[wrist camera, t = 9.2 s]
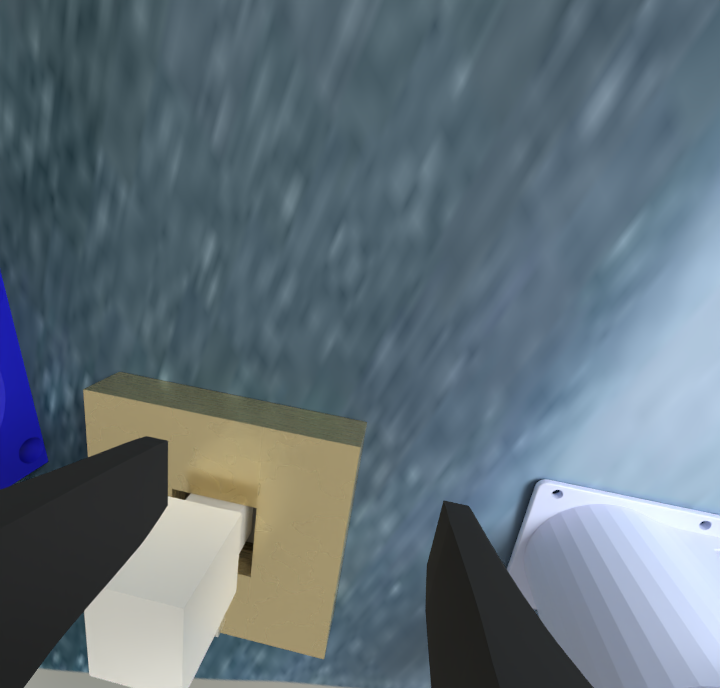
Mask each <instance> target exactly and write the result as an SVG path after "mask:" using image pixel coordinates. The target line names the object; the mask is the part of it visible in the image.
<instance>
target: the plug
mask: <svg viewBox="0 0 720 688" xmlns="http://www.w3.org/2000/svg"><path fill="white" fill-rule="evenodd" d="M252 517H253V507H249V506H245V505H241V504H236V503H232V502H227V501H223V500H219V499H214V498H210V497H206V496H201V495H197V494H192V493H191V494H190V495H189V496H188V498H187V499H186V500H182V499H178V498H173V497H169V496H168V506H167V507H166V509H165V511H164V512H163V514H162V515H161V517H160V518H159V520H158V521H157V523H156V524H155V526H154V527H153V529H152V530H151V532H150V533H149V534H148V536H147V537H146V539H145V540H144V542H143V543H142V544H141V545H140V546H139V548H138V549H137V550H136V551H135V552H134V554H133V555H132V556H131V557H130V558H129V559H128V561H127V562H126V563H125V564H124V565H123V567H122V568H121V569H120V570H119V571H118V572H117V574H116V575H115V576H114V577H113V578H112V579H111V580H110V582H109V583H108V584H107V585H106V586H105V587H104V589H103V590H102V591H101V592H100V593H99V594H98V595H97V597H96V598H95V599H94V600H93V601H92V602H91V604H90V605H89V606H88V607H87V608H86V609H85V611H84V614H85V626H86V638H87V651H88V663H89V675H90V676H92V677H95V678H99V679H103V680H106V681H110V682H114V683H117V684H121V685H124V686H128V687H132V688H189V686H190V684H191V682H192V680H193V678H194V676H195V674H196V672H197V670H198V668H199V666H200V664H201V662H202V660H203V658H204V656H205V654H206V652H207V650H208V648H209V646H210V644H211V642H212V640H213V638H214V636H215V634H216V632H217V630H218V627H219V625H220V623H221V621H222V619H223V617H224V615H225V613H226V611H227V609H228V607H229V605H230V603H231V601H232V599H233V597H234V595H235V593H236V588H237V574H238V560H239V553H240V552H241V550H242V548H243V546H244V544H245V542H246V540H247V539H248V537H249V535H250V533H251V529H252Z"/></svg>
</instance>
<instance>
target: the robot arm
mask: <svg viewBox="0 0 720 688" xmlns="http://www.w3.org/2000/svg"><path fill="white" fill-rule="evenodd" d="M555 490H560V491H559V493H556V494H553V493H552V492H553V491H555ZM167 506H168V441H167V440H163V439H158V438H153V437H149V436H145V437H142V438H138V439H135V440H132V441H130V442H127V443H124V444H121V445H119V446H116V447H113V448H111V449H108V450H106V451H103V452H101V453H98V454H95V455H93V456H90V457H88V458H85V459H83V460H80V461H77V462H75V463H72V464H70V465H67V466H64V467H62V468H59V469H57V470H54V471H51V472H49V473H46V474H43V475H40V476H37V477H35V478H32V479H29V480H26V481H23V482H20V483H18V484H15V485H12V486H9V487H6V488H3V489H1V490H0V688H24V686H25V685H26V684H27V683H28V681H29V680H30V678H31V677H32V676H33V674H34V673H35V672H36V670H37V669H38V668H39V666H40V665H41V664H42V662H43V661H44V659H45V658H46V657H47V655H48V654H49V653H50V651H51V650H52V649H53V648H54V646H55V645H56V644H57V643H58V641H59V640H60V639H61V638H62V636H63V635H64V634H65V633H66V632H67V630H68V629H69V628H70V627H71V626H72V624H73V623H74V622H75V621H76V620H77V619H78V617H79V616H80V615H81V614H82V613H83V612H84V611H85V609H86V608H87V607H88V606H89V605H90V604H91V602H92V601H93V600H94V599H95V598H96V597H97V595H98V594H99V593H100V592H101V591H102V590H103V589H104V587H105V586H106V585H107V584H108V583H109V582H110V580H111V579H112V578H113V577H114V576H115V575H116V574H117V572H118V571H119V570H120V569H121V568H122V567H123V565H124V564H125V563H126V562H127V561H128V559H129V558H130V557H131V556H132V555H133V554H134V552H135V551H136V550H137V549H138V548H139V546H140V545H141V544H142V543H143V542H144V540H145V539H146V537H147V536H148V534H149V533H150V532H151V530H152V529H153V527H154V526H155V524H156V523H157V521H158V520H159V518H160V517H161V515H162V514H163V512H164V511H165V509H166V507H167ZM703 521H705V522H704V523H702V524H700V523H701V522H703ZM533 609H536V610H537V611H538V615H539V617H538V615H537V614H536V613H535V611H534V610H533ZM426 623H427V637H428V650H429V663H430V676H431V688H720V515H716V514H712V513H707V512H702V511H697V510H692V509H687V508H683V507H678V506H673V505H668V504H663V503H659V502H654V501H649V500H644V499H639V498H635V497H630V496H625V495H620V494H615V493H610V492H606V491H601V490H596V489H591V488H586V487H582V486H577V485H572V484H567V483H562V482H558V481H553V480H548V479H543V480H540V481H539V482H537V483H536V485H535V487H534V490H533V493H532V496H531V499H530V502H529V505H528V508H527V511H526V514H525V517H524V520H523V523H522V526H521V529H520V532H519V535H518V538H517V541H516V544H515V547H514V550H513V553H512V555H511V558H510V561H509V564H508V567H507V569H506V567H505V566H504V564H503V563H502V561H501V559H500V558H499V556H498V555H497V553H496V551H495V550H494V548H493V546H492V545H491V543H490V541H489V540H488V538H487V536H486V534H485V533H484V531H483V529H482V527H481V526H480V524H479V522H478V520H477V519H476V517H475V515H474V514H473V512H472V510H471V509H470V507H469V506H467V505H462V504H457V503H453V502H448V501H443V505H442V509H441V513H440V517H439V521H438V525H437V528H436V532H435V536H434V540H433V544H432V548H431V552H430V555H429V559H428V563H427V577H426Z"/></svg>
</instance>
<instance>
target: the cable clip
mask: <svg viewBox="0 0 720 688" xmlns="http://www.w3.org/2000/svg"><path fill="white" fill-rule="evenodd" d="M47 462H48V458H47V454H46V450H45V446H44V442H43V438H42V434H41V430H40V426H39V422H38V418H37V414H36V411H35V407H34V403H33V399H32V395H31V391H30V387H29V383H28V379H27V375H26V371H25V367H24V363H23V359H22V355H21V351H20V347H19V343H18V339H17V335H16V331H15V327H14V323H13V319H12V315H11V311H10V307H9V303H8V299H7V295H6V291H5V287H4V284H3V280H2V276H1V272H0V490H1V489H3V488H6V487H9V486H11V485H12V484H14V483H15V482H17V481H19V480H20V479H22V478H23V477H25V476H26V475H28V474H30V473H31V472H33V471H34V470H36V469H37V468H39V467H41V466H42V465H44V464H45V463H47Z"/></svg>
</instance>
